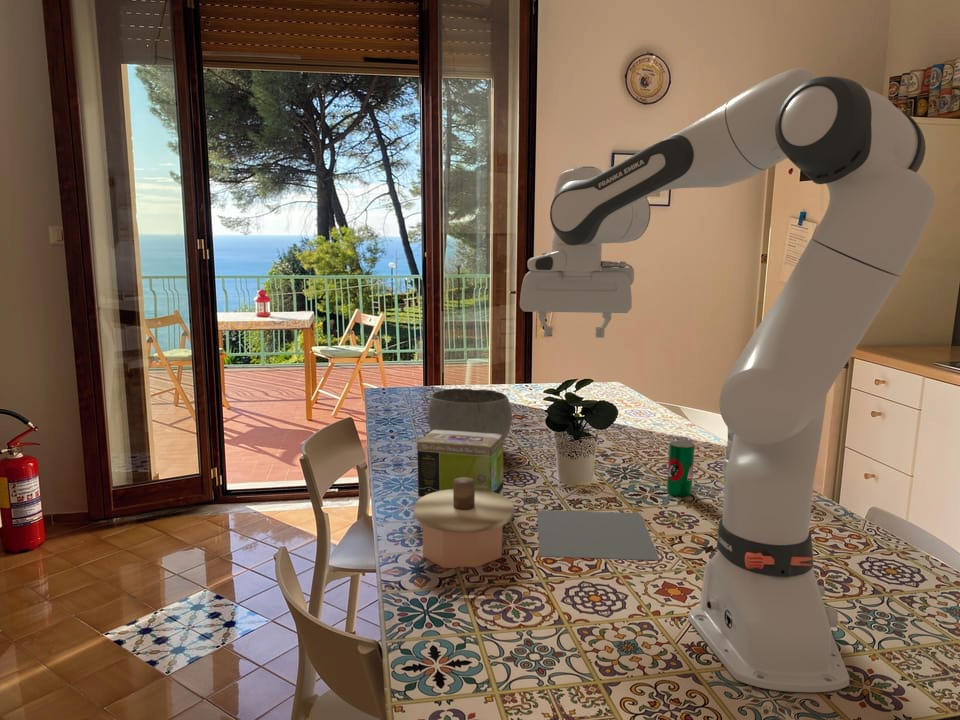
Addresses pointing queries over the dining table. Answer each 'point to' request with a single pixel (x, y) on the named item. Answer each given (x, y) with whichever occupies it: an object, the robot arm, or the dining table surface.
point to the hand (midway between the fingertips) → (573, 336)
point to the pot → (462, 547)
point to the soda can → (680, 466)
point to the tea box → (459, 460)
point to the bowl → (470, 411)
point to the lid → (463, 508)
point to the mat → (594, 535)
